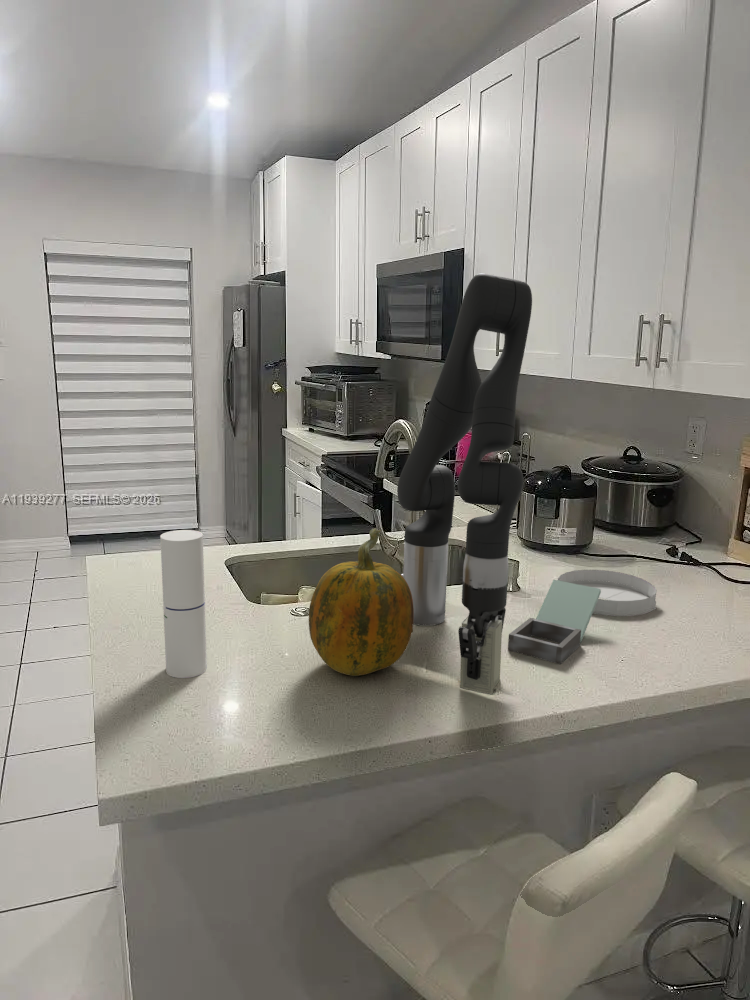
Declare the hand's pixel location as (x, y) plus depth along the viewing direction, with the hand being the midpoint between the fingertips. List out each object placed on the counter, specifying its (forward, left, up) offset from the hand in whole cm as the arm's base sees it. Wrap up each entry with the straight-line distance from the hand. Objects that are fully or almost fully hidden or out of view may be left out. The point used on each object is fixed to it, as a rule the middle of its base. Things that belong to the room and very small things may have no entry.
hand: (480, 672), depth 131 cm
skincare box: (0, 0, -3) cm, 3 cm away
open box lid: (+4, +32, +2) cm, 32 cm away
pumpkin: (-21, -6, -3) cm, 22 cm away
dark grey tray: (+4, +26, -3) cm, 26 cm away
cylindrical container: (-46, -25, -3) cm, 52 cm away
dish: (+5, +55, -3) cm, 55 cm away
